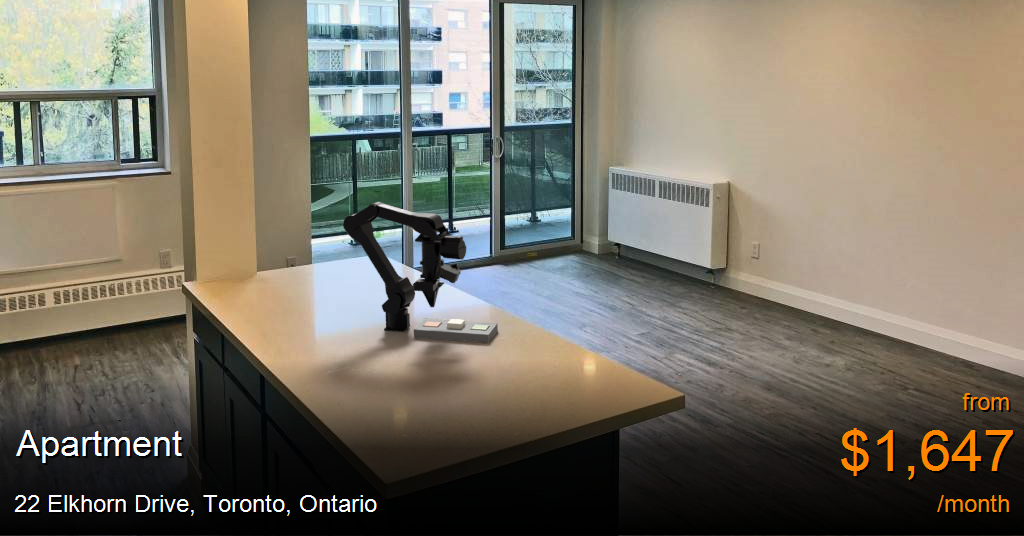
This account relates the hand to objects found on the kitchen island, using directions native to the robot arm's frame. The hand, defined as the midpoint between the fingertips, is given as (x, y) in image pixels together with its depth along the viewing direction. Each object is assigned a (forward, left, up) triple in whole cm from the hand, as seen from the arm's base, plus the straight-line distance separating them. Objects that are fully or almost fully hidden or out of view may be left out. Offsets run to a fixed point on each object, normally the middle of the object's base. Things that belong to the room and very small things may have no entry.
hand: (432, 307), depth 287 cm
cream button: (+7, 0, -7) cm, 10 cm away
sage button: (+15, 0, -8) cm, 17 cm away
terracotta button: (0, 0, -8) cm, 8 cm away
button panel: (+7, 0, -8) cm, 11 cm away
